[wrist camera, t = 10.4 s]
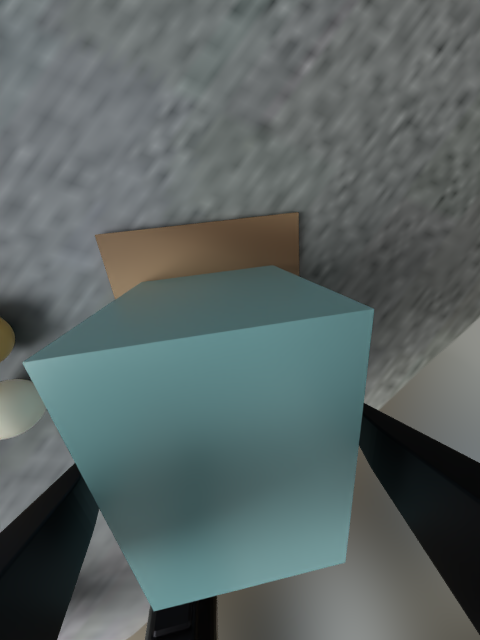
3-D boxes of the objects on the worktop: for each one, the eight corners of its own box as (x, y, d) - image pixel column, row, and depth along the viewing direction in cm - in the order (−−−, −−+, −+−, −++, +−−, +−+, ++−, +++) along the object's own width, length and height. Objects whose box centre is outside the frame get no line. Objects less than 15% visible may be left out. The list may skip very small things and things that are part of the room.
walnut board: (298, 426, 17) (301, 431, 17) (167, 452, 16) (166, 458, 16) (294, 213, 12) (298, 212, 11) (99, 234, 11) (94, 234, 11)
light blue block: (280, 409, 16) (345, 562, 8) (180, 427, 15) (154, 611, 8) (272, 265, 12) (374, 308, 5) (141, 282, 12) (22, 362, 4)
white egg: (67, 405, 14) (32, 447, 11) (15, 414, 14) (-34, 459, 11) (47, 364, 13) (3, 399, 10) (-10, 373, 13) (-70, 411, 10)
